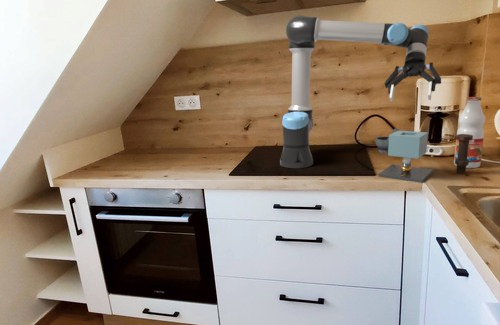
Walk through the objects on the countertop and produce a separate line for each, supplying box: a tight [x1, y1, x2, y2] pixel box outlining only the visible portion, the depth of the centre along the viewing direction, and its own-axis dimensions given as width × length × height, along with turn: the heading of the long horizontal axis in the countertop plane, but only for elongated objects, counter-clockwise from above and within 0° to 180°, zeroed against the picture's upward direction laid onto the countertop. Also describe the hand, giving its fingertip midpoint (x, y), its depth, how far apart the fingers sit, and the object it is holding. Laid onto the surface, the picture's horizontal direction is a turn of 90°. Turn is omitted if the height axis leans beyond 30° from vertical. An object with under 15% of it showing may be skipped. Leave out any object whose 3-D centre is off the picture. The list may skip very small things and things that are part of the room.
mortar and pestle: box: [374, 127, 401, 154], centre depth 172 cm, size 11×9×12 cm
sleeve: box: [387, 130, 429, 159], centre depth 134 cm, size 11×11×8 cm
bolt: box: [454, 134, 473, 175], centre depth 133 cm, size 6×5×15 cm
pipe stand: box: [377, 157, 434, 184], centre depth 136 cm, size 16×16×10 cm
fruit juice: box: [453, 96, 486, 169], centre depth 140 cm, size 9×9×28 cm
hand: (409, 98), depth 133 cm, fingers open, 13 cm apart
